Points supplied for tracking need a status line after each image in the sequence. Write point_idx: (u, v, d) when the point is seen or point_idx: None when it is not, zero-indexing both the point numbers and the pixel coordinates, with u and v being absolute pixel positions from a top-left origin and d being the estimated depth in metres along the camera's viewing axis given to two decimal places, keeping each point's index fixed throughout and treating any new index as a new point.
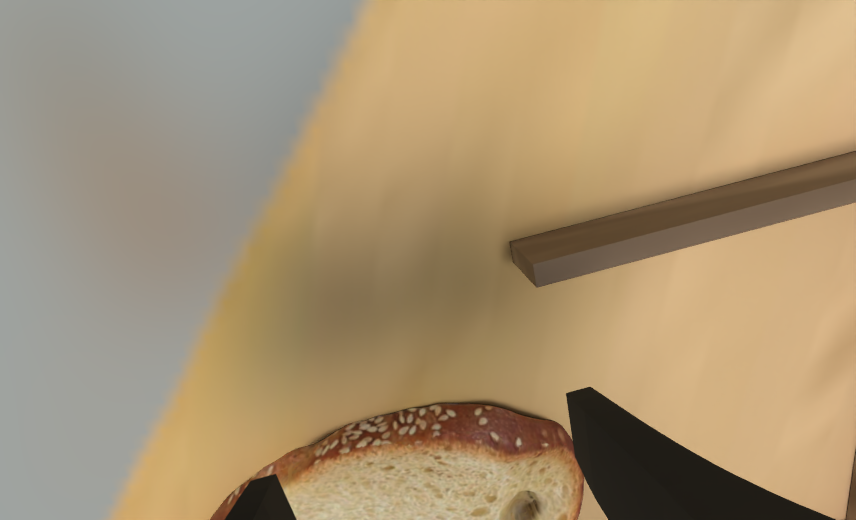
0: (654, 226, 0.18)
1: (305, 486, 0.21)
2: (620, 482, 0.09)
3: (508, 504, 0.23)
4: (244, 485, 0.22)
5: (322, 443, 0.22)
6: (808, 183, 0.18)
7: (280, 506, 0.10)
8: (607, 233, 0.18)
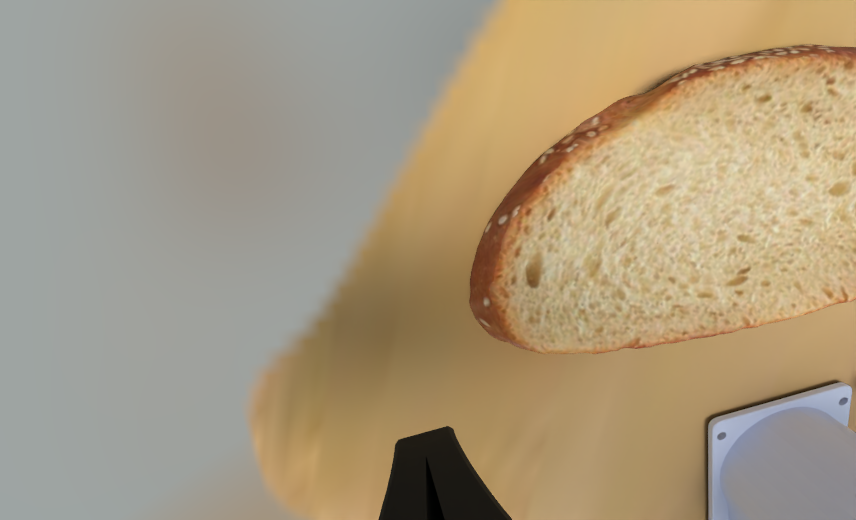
0: None
1: (662, 117, 0.17)
2: None
3: None
4: (559, 143, 0.18)
5: (669, 79, 0.17)
6: None
7: None
8: None
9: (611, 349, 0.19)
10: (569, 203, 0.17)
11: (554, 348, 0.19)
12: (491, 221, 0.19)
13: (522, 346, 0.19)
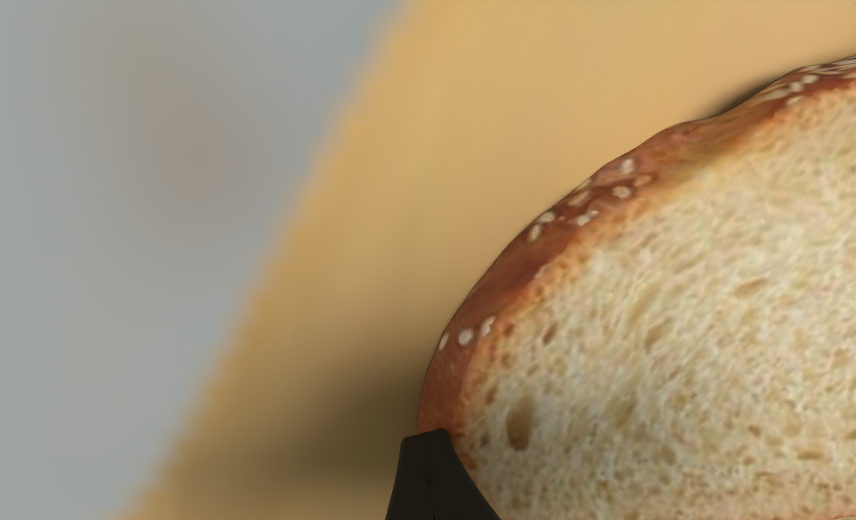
0: None
1: (756, 165, 0.09)
2: None
3: None
4: (564, 204, 0.10)
5: (761, 93, 0.10)
6: None
7: None
8: None
9: None
10: (582, 314, 0.10)
11: None
12: (449, 334, 0.11)
13: None
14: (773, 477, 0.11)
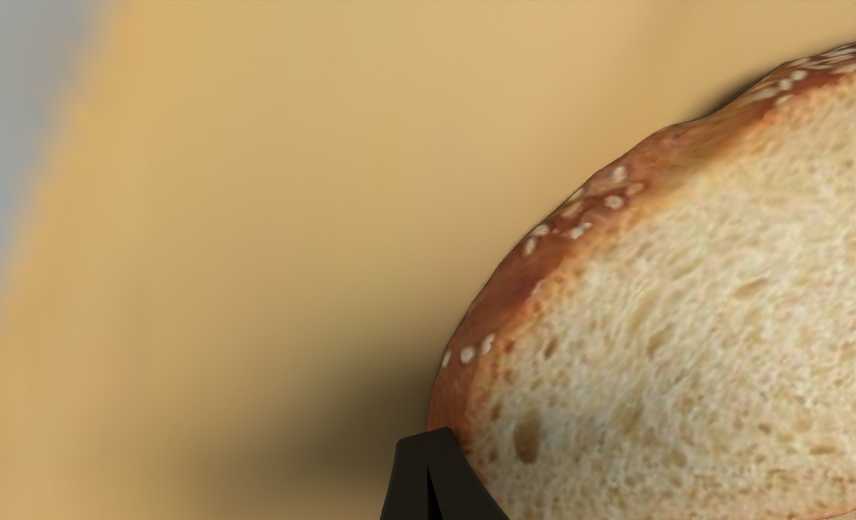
0: None
1: (748, 167, 0.09)
2: None
3: None
4: (557, 216, 0.10)
5: (751, 92, 0.10)
6: None
7: None
8: None
9: None
10: (581, 327, 0.10)
11: None
12: (451, 350, 0.11)
13: None
14: (786, 474, 0.11)
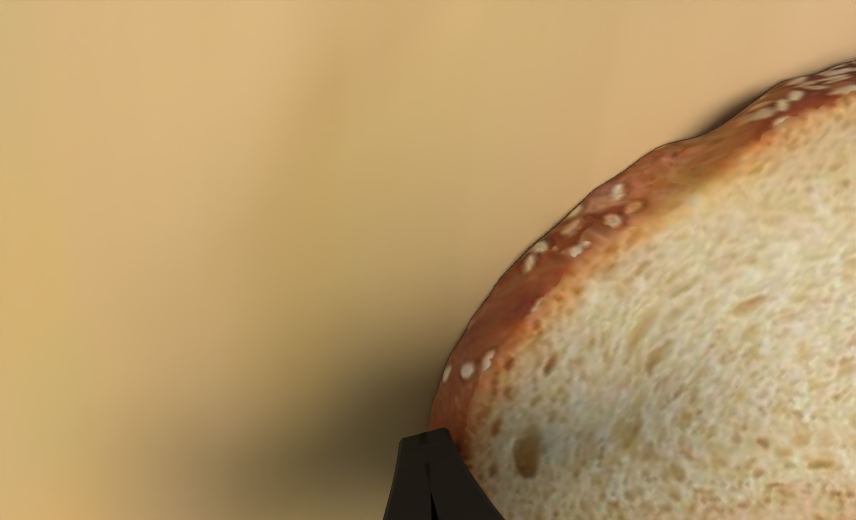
0: None
1: (746, 187, 0.09)
2: None
3: None
4: (557, 233, 0.10)
5: (748, 111, 0.10)
6: None
7: None
8: None
9: None
10: (581, 344, 0.10)
11: None
12: (451, 365, 0.11)
13: None
14: (784, 488, 0.11)
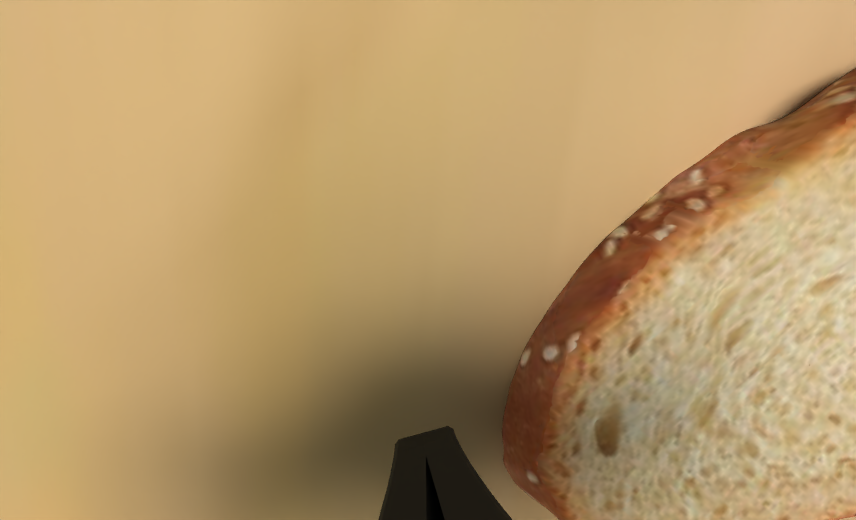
0: None
1: (830, 169, 0.09)
2: None
3: None
4: (636, 218, 0.11)
5: (826, 96, 0.10)
6: None
7: None
8: None
9: None
10: (665, 324, 0.10)
11: None
12: (530, 349, 0.12)
13: None
14: None
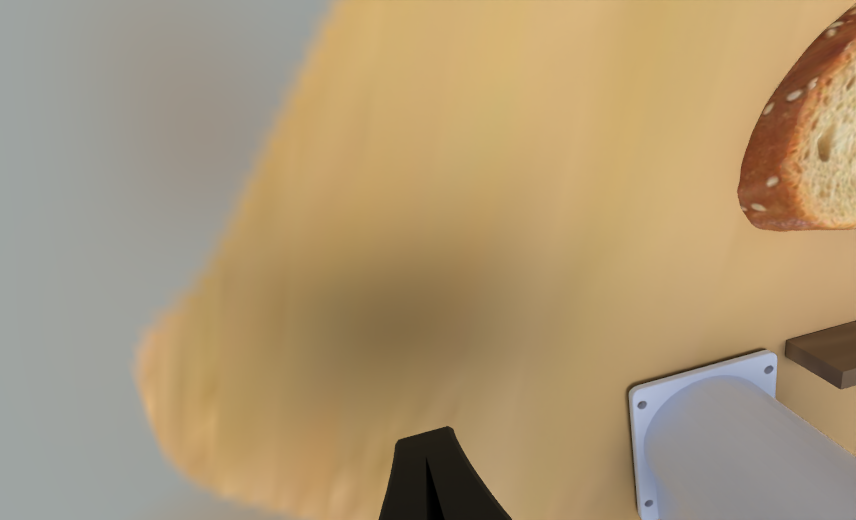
0: None
1: None
2: None
3: None
4: (846, 15, 0.18)
5: None
6: None
7: None
8: None
9: None
10: None
11: (843, 222, 0.19)
12: (773, 102, 0.19)
13: (808, 223, 0.19)
14: None
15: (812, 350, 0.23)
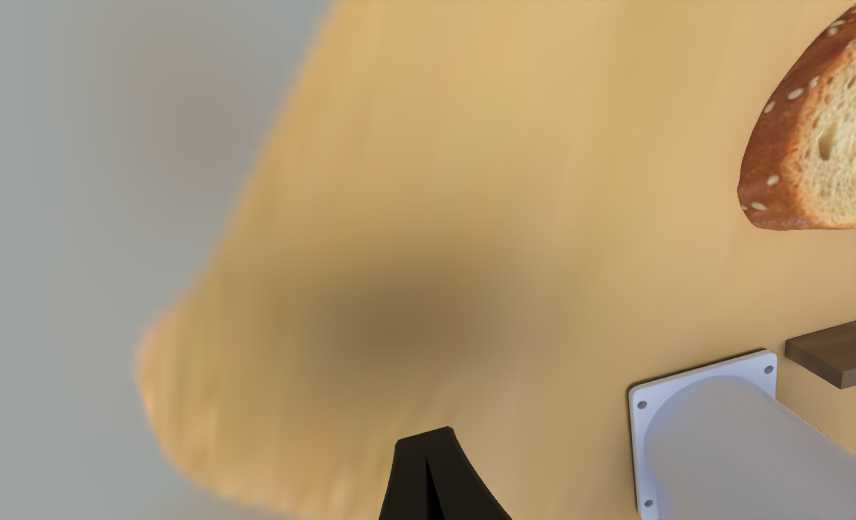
0: None
1: None
2: None
3: None
4: (847, 14, 0.18)
5: None
6: None
7: None
8: None
9: None
10: None
11: (843, 221, 0.19)
12: (774, 100, 0.19)
13: (808, 222, 0.19)
14: None
15: (812, 350, 0.23)
